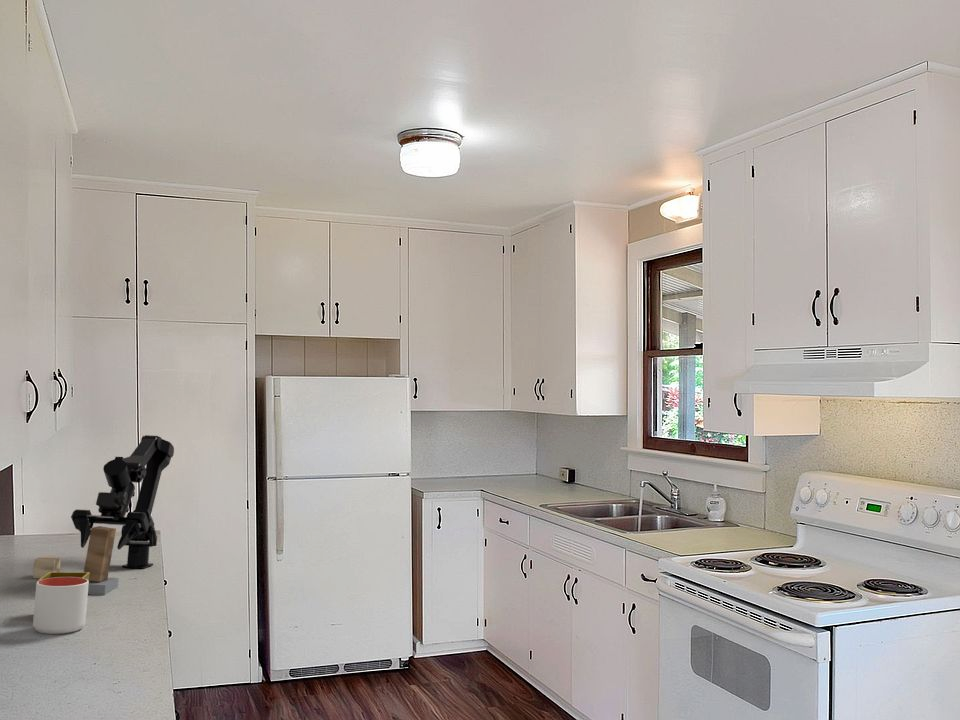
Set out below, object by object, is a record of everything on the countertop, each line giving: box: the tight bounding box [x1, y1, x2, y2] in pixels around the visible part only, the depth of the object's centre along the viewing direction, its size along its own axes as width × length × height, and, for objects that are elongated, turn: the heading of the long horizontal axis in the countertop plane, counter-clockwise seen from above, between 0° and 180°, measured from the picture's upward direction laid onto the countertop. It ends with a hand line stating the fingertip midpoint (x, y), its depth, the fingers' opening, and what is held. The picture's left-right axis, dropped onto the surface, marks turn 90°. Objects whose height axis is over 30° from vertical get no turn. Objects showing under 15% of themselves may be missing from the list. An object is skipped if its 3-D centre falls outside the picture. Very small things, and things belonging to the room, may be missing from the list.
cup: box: [32, 577, 89, 635], centre depth 183 cm, size 10×10×10 cm
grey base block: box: [88, 577, 119, 596], centre depth 219 cm, size 9×9×3 cm
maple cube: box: [32, 556, 62, 579], centre depth 233 cm, size 5×5×5 cm
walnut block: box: [83, 526, 117, 582], centre depth 220 cm, size 4×4×13 cm
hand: (100, 547), depth 222 cm, fingers open, 9 cm apart
